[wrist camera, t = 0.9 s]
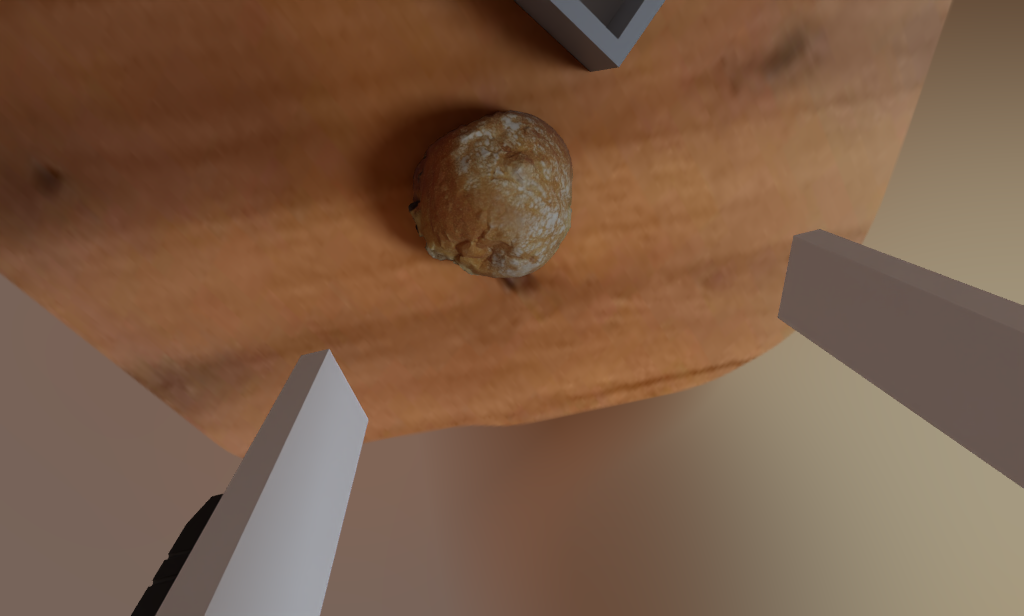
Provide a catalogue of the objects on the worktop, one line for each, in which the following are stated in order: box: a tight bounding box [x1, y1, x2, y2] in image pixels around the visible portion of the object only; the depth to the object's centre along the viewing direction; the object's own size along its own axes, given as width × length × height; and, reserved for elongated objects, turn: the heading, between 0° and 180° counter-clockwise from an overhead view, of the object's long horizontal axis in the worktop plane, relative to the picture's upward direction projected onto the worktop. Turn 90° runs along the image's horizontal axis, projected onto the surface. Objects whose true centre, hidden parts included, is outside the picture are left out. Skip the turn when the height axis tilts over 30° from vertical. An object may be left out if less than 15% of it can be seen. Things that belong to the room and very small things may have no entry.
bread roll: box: [408, 110, 573, 278], centre depth 24 cm, size 10×10×8 cm
